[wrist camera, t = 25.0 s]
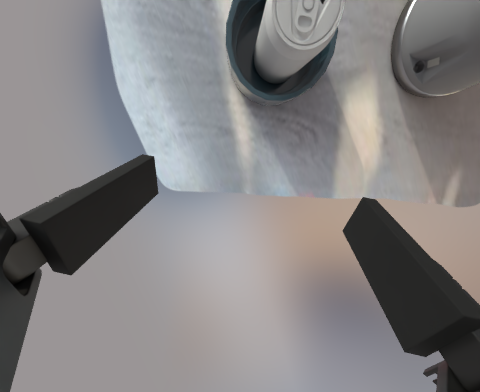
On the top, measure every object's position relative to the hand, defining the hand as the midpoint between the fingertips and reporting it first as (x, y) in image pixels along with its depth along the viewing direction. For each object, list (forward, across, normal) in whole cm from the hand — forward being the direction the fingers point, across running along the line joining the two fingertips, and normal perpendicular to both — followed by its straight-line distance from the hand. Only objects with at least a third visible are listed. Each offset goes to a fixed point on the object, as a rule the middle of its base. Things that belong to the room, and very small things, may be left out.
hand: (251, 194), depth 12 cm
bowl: (+22, -1, +10) cm, 24 cm away
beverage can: (+22, 0, +10) cm, 24 cm away
